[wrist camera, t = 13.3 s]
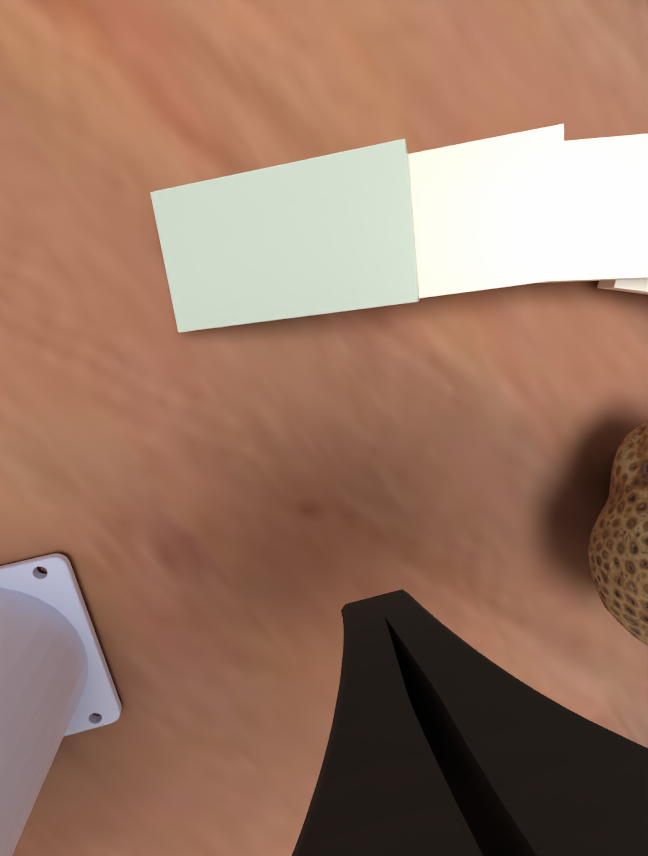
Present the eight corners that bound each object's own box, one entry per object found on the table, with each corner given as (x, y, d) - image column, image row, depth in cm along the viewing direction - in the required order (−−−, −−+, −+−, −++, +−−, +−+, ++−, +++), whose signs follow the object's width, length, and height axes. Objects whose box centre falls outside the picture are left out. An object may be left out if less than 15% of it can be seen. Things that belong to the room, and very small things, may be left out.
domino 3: (464, 284, 17) (714, 274, 16) (469, 149, 16) (738, 125, 15) (459, 285, 19) (685, 277, 18) (464, 163, 18) (705, 143, 17)
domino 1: (178, 332, 16) (417, 301, 14) (150, 192, 15) (405, 138, 13) (202, 328, 18) (419, 300, 16) (178, 201, 17) (408, 155, 15)
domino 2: (318, 311, 17) (565, 278, 15) (301, 174, 16) (563, 123, 14) (327, 309, 19) (550, 280, 17) (312, 186, 18) (548, 141, 16)
